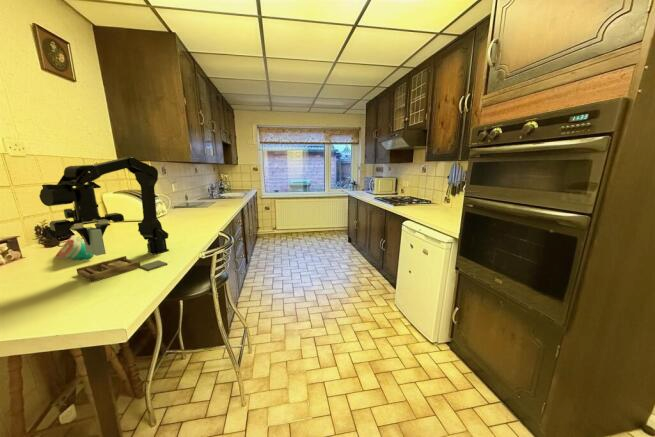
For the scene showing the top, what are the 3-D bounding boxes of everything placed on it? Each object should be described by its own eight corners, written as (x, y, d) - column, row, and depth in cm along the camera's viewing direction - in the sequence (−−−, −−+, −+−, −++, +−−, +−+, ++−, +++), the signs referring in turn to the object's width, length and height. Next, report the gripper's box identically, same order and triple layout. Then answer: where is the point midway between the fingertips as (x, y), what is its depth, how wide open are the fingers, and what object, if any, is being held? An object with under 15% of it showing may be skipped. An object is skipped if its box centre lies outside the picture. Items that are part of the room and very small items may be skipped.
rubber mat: (158, 261, 105) (158, 260, 105) (167, 264, 101) (167, 263, 101) (139, 267, 99) (139, 265, 99) (148, 270, 95) (148, 269, 95)
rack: (126, 261, 105) (125, 256, 105) (140, 267, 99) (139, 261, 99) (77, 274, 92) (76, 268, 92) (90, 282, 86) (89, 275, 86)
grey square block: (95, 249, 95) (90, 226, 93) (105, 253, 90) (101, 229, 88) (86, 251, 93) (81, 228, 91) (96, 255, 88) (91, 231, 86)
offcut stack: (123, 263, 103) (122, 259, 102) (132, 267, 99) (132, 263, 98) (107, 268, 98) (106, 263, 98) (116, 272, 94) (116, 268, 94)
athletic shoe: (88, 265, 104) (105, 239, 109) (59, 257, 98) (79, 230, 103) (76, 265, 120) (91, 242, 125) (50, 258, 113) (67, 234, 119)
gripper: (108, 197, 99) (115, 235, 103) (39, 203, 84) (50, 247, 87) (121, 199, 94) (128, 238, 97) (50, 206, 78) (61, 253, 81)
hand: (94, 244), depth 91 cm, fingers closed on grey square block, 3 cm apart
